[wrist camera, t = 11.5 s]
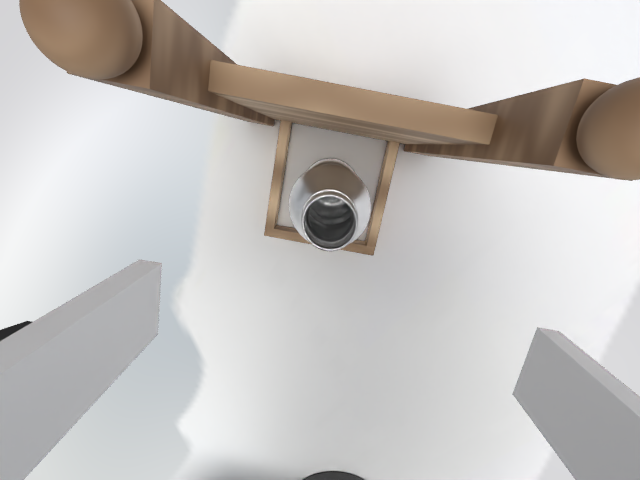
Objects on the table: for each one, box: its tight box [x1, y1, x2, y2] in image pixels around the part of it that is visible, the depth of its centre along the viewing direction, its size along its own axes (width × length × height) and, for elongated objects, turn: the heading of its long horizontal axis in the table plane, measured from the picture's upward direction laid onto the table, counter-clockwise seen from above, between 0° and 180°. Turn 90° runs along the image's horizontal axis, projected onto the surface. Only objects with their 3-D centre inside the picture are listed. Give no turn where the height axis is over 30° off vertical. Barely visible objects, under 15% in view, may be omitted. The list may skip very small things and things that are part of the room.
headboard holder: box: [20, 0, 640, 255], centre depth 26 cm, size 15×21×31 cm
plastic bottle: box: [289, 159, 371, 251], centre depth 32 cm, size 6×7×20 cm
